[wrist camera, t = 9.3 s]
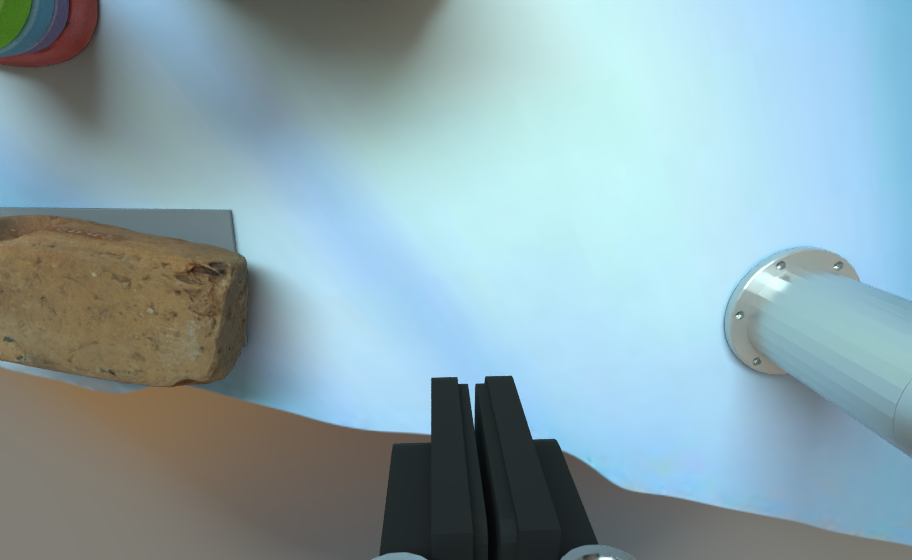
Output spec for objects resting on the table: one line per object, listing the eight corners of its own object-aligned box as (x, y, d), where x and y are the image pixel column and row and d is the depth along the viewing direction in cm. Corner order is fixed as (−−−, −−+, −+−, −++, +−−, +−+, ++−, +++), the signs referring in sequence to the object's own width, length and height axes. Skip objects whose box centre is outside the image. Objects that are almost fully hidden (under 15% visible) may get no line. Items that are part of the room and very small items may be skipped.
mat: (230, 209, 39) (229, 210, 38) (247, 344, 43) (246, 346, 42) (-9, 207, 37) (-13, 208, 37) (31, 346, 41) (27, 348, 41)
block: (211, 407, 35) (-88, 358, 33) (248, 358, 42) (4, 315, 40) (222, 270, 32) (-110, 205, 30) (261, 242, 39) (-5, 188, 37)
